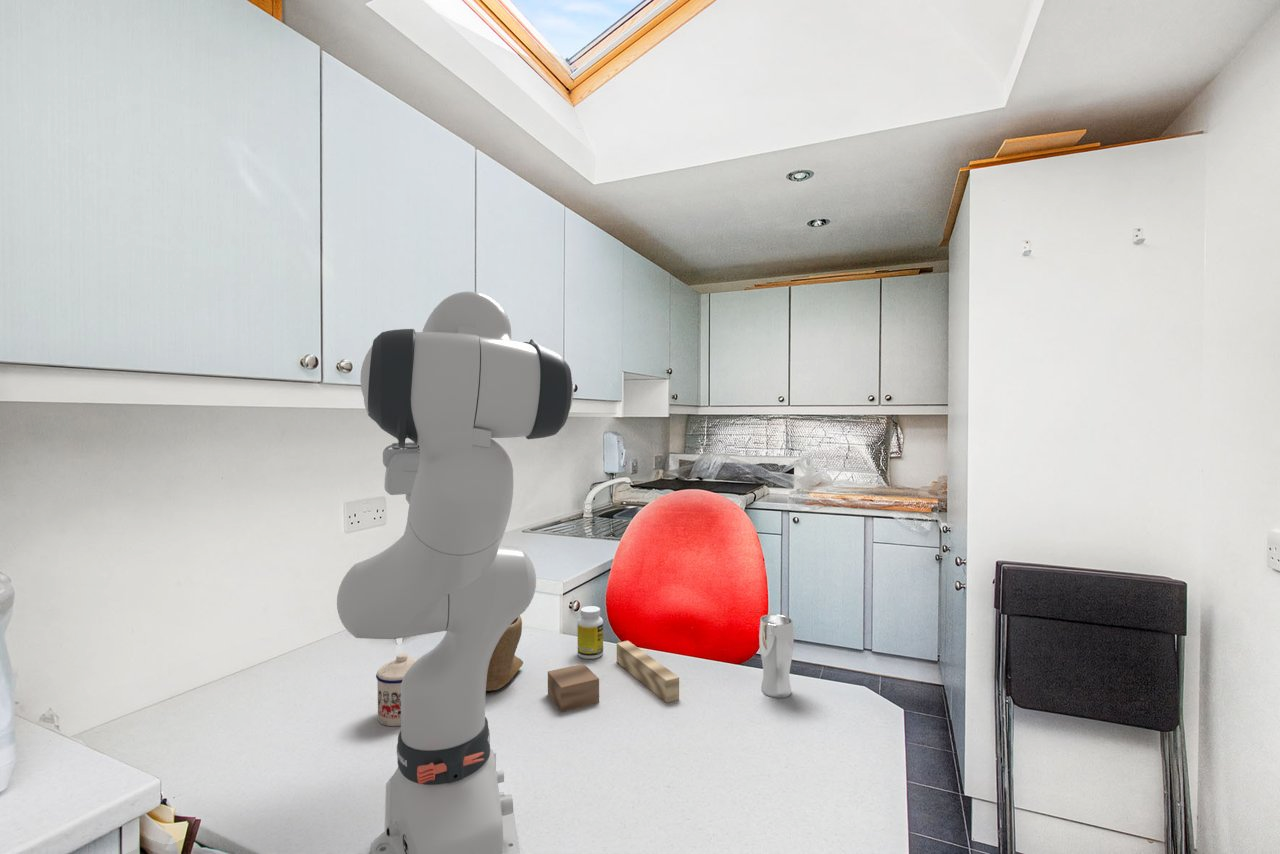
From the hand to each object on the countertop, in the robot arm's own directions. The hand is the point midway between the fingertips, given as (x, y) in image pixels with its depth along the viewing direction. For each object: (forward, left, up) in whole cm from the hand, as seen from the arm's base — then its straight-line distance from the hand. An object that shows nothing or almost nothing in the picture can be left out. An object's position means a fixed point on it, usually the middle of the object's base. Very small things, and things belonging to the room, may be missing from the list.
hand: (444, 515), depth 108 cm
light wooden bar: (-3, -41, -39) cm, 57 cm away
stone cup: (+13, -13, -39) cm, 43 cm away
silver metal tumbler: (-21, -62, -39) cm, 77 cm away
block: (-3, -24, -39) cm, 46 cm away
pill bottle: (+15, -36, -39) cm, 55 cm away
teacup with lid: (+6, +6, -39) cm, 40 cm away
